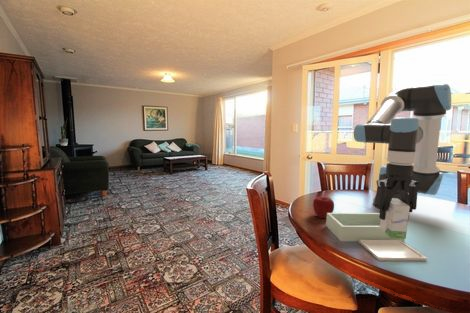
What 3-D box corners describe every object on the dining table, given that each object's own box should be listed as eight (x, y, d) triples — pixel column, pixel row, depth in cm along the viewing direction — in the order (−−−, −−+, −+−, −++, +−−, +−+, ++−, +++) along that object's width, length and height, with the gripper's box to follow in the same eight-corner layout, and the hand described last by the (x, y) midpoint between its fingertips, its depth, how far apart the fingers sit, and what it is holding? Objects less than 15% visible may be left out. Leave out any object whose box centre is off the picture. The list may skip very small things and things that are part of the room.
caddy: (380, 225, 103) (382, 213, 102) (404, 241, 89) (406, 226, 88) (326, 225, 102) (326, 212, 102) (341, 241, 88) (342, 226, 88)
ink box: (379, 227, 85) (381, 196, 84) (394, 228, 84) (397, 197, 83) (390, 238, 77) (393, 204, 76) (407, 239, 76) (410, 205, 75)
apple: (314, 211, 119) (315, 193, 117) (334, 215, 114) (335, 196, 113) (310, 218, 111) (311, 198, 109) (331, 222, 106) (333, 201, 104)
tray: (399, 242, 88) (400, 239, 88) (426, 261, 76) (426, 257, 76) (359, 242, 88) (359, 239, 87) (379, 261, 76) (379, 257, 76)
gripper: (418, 162, 81) (410, 223, 84) (366, 161, 81) (360, 223, 84) (436, 165, 74) (427, 233, 77) (379, 165, 74) (373, 232, 77)
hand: (392, 227), depth 81 cm, fingers closed on ink box, 6 cm apart
